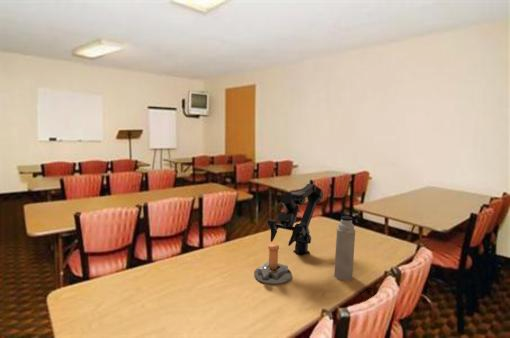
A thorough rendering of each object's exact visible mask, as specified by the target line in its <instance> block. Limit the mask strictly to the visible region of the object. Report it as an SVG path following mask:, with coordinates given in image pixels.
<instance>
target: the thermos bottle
mask: <svg viewBox="0 0 510 338" xmlns="http://www.w3.org/2000/svg"><path fill="white" fill-rule="evenodd" d="M355 241H356V230H355V225H354V223H353V217H351V216H347V215H343V216H341V217H340V222H339V223H338V227H336V238H335V254H334V255H335V258H334V273H333V276H334V277H335V278H336V279H338V280H340V281H345V282H348V281H351V280H352V279H353V274H354V272H353V271H354V258H355V256H354V255H355Z"/></svg>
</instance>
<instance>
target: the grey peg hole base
mask: <svg viewBox="0 0 510 338" xmlns="http://www.w3.org/2000/svg"><path fill="white" fill-rule="evenodd" d="M288 267H289V266H288V265H287V264H282V263H279V262H278V267H277V270H276V271H274V270H270V267H269V260H268V261H266V262H265V263H264V264H262V265H261V266H259V267H257V268H256V269H255V270H254V272H253V275H254V278H255V280H256V281H258V282H259V283H262V284H265V285H270V286H272V285H273V286H275V285H276V286H277V285H284V284H287V283H288V282H290V281H291V279H292V276H293V275H292V272H291V270H290V269H289V268H288Z"/></svg>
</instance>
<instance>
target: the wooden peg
mask: <svg viewBox="0 0 510 338" xmlns="http://www.w3.org/2000/svg"><path fill="white" fill-rule="evenodd" d="M267 246H268V247H267V249H268V261H269V267H270V270H274V271H276V270H277V267H278V263H279V262H278V261H279V260H278V259H279V249H280V246H279V244H278V243H269V244H268V245H267Z"/></svg>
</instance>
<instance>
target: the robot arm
mask: <svg viewBox="0 0 510 338" xmlns="http://www.w3.org/2000/svg"><path fill="white" fill-rule="evenodd" d="M323 198H324V192H323V190H322V189H321V188H320V187H318V186H317V184H314V183H306V185H305V186H304V187H302V188H301V189H299V190H298V191H297V190H296V191H292V192H290V191H287V193H285V194H283V195H282V196H281V198H280V202H281V204H282V206H283V207H284V209H285V212H283V213H279V212H278V213H277V220H275V219H268V220H267V221H266V225H267V227H268V228H269V229H270V242H271V243H272V242H274V239H275V237H276V235H277V233H278V230H279V229H281V230H285V231H286V230H287V231H292V233H291V236H290V239H289V241H288V244H287V246H288V247H290V246H292V244H294V242H295V245H294V246H295V247H294V249H293V253H295V254H298V255H300V256H304V255H308V254H310V251H309V249H308V248H309V244H311V242H312V236H311V234H310V230H309V226H310V223H311V220H312V218H313V215H314V212H315V209H316V206H317V205H318V204H319V203H321V201H322V199H323ZM306 200H308V201H307V203H306ZM304 203H306V206H305V208H304V209H305V210H304V212H303V214H302V216H301V220H300V222H299V223H296V222H297V220H296V219H297V216H298V215H299V214H298V213H300V211H301V210H300V207H299V205H300V206H303V205H304ZM277 221H279V223H277Z"/></svg>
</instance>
